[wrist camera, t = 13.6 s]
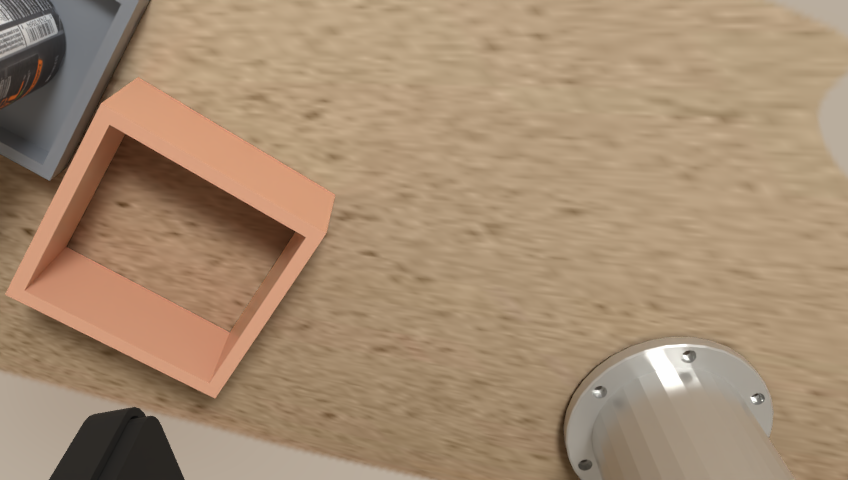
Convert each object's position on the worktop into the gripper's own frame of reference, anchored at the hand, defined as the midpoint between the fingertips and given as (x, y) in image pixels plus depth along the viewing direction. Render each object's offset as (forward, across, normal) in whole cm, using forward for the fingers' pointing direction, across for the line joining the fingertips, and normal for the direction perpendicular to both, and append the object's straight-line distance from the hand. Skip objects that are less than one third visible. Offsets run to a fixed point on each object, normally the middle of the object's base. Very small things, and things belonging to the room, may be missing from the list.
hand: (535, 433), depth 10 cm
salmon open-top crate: (+30, +15, +7) cm, 35 cm away
